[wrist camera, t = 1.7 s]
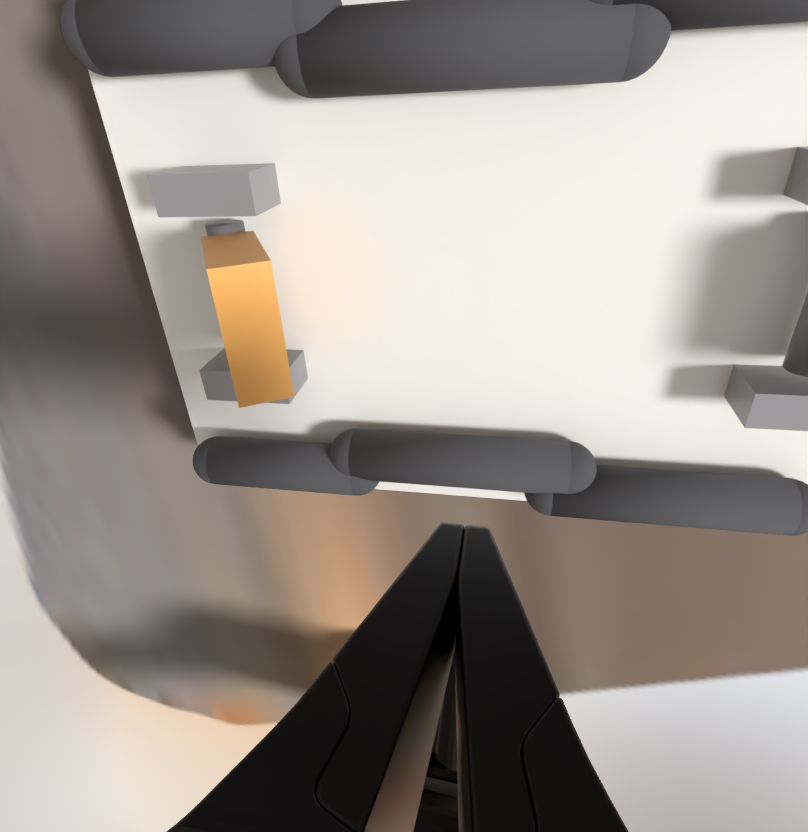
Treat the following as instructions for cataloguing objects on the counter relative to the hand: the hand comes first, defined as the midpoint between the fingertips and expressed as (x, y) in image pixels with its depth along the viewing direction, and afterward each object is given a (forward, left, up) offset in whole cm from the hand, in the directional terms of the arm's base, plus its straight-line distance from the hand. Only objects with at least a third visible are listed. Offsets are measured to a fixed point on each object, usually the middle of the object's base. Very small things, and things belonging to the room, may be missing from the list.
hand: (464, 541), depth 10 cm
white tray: (+1, +1, -14) cm, 14 cm away
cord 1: (+8, +1, -11) cm, 14 cm away
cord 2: (-6, +1, -11) cm, 12 cm away
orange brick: (+1, +9, -10) cm, 13 cm away
